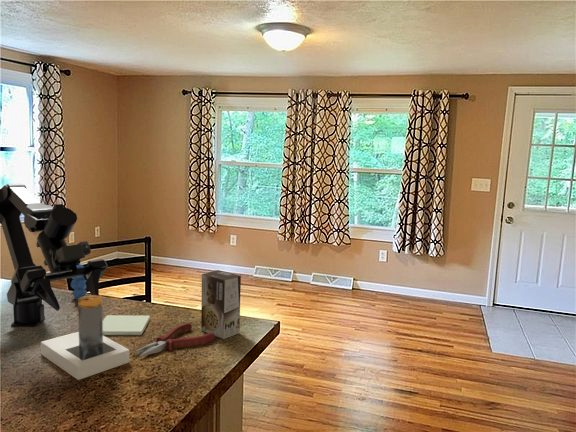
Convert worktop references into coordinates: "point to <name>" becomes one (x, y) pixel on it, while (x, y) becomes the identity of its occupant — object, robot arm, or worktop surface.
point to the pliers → (175, 341)
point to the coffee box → (220, 303)
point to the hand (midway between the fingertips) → (78, 305)
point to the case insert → (67, 358)
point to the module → (90, 326)
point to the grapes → (79, 285)
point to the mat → (124, 325)
